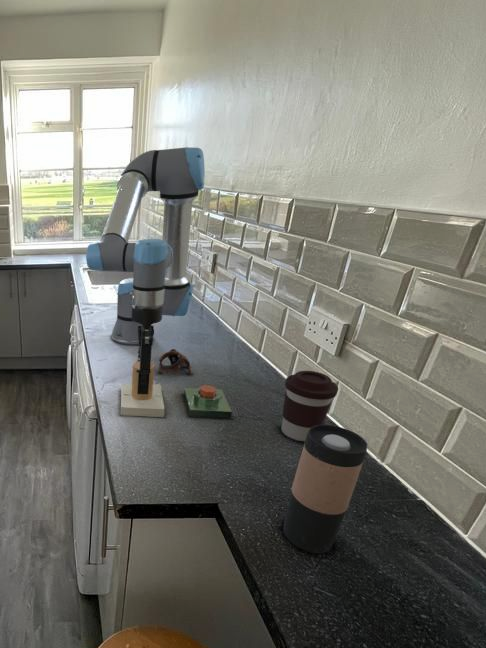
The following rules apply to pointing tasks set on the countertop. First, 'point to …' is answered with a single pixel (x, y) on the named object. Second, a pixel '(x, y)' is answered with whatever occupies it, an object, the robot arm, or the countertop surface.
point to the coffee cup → (306, 402)
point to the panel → (142, 402)
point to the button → (207, 391)
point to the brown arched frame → (174, 362)
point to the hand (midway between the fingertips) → (142, 387)
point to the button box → (206, 404)
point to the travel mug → (323, 486)
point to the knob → (135, 382)
